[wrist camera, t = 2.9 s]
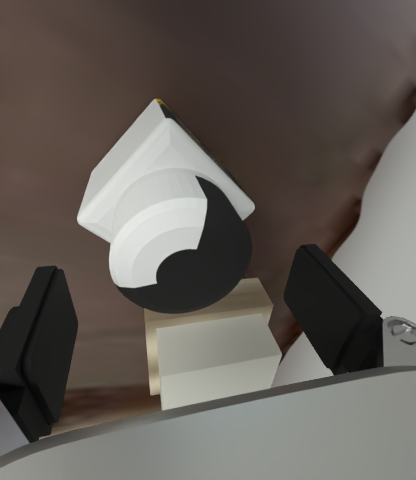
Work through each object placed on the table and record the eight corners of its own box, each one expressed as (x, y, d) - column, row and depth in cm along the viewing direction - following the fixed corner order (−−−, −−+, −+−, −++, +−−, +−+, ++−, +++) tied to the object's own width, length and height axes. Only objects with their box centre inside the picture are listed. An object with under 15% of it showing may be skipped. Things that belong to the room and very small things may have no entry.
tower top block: (156, 328, 24) (161, 376, 21) (261, 313, 27) (282, 354, 23) (160, 388, 30) (164, 435, 26) (246, 371, 32) (261, 412, 29)
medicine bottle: (225, 167, 22) (300, 260, 12) (164, 227, 24) (187, 350, 14) (156, 94, 18) (186, 146, 8) (89, 173, 20) (50, 291, 10)
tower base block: (142, 286, 27) (144, 322, 24) (256, 274, 30) (273, 305, 26) (148, 358, 34) (150, 395, 30) (240, 343, 37) (252, 376, 33)
